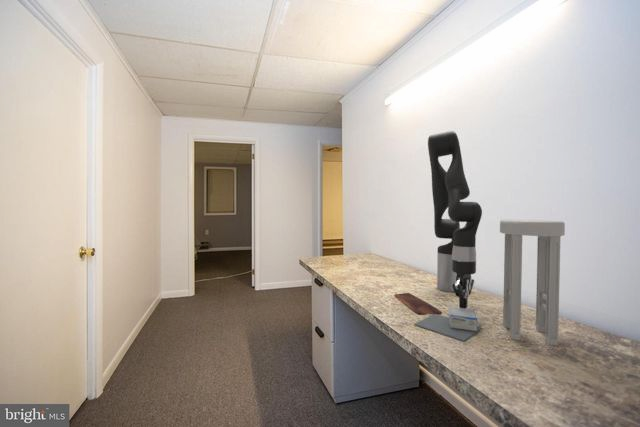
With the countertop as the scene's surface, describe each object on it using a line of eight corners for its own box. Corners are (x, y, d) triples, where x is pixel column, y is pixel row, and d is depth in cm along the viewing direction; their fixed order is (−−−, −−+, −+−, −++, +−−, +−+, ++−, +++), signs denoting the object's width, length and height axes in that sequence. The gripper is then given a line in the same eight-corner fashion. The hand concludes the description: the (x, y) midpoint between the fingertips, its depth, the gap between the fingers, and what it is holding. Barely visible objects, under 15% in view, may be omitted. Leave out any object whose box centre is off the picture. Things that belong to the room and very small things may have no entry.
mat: (434, 314, 107) (434, 313, 107) (482, 328, 95) (482, 327, 95) (414, 325, 97) (414, 323, 97) (464, 341, 86) (464, 340, 86)
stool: (504, 340, 86) (506, 221, 85) (494, 321, 101) (496, 219, 100) (570, 350, 81) (573, 222, 80) (550, 328, 95) (552, 220, 94)
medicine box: (448, 318, 102) (449, 328, 94) (448, 305, 102) (449, 314, 94) (474, 321, 99) (477, 332, 91) (474, 308, 99) (477, 317, 91)
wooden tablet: (390, 291, 132) (411, 288, 134) (390, 296, 132) (411, 293, 134) (418, 313, 106) (443, 309, 107) (418, 319, 106) (444, 315, 108)
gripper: (460, 255, 110) (460, 301, 111) (444, 259, 101) (444, 309, 102) (482, 258, 105) (481, 306, 105) (467, 262, 96) (466, 315, 96)
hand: (463, 308), depth 103 cm, fingers closed
